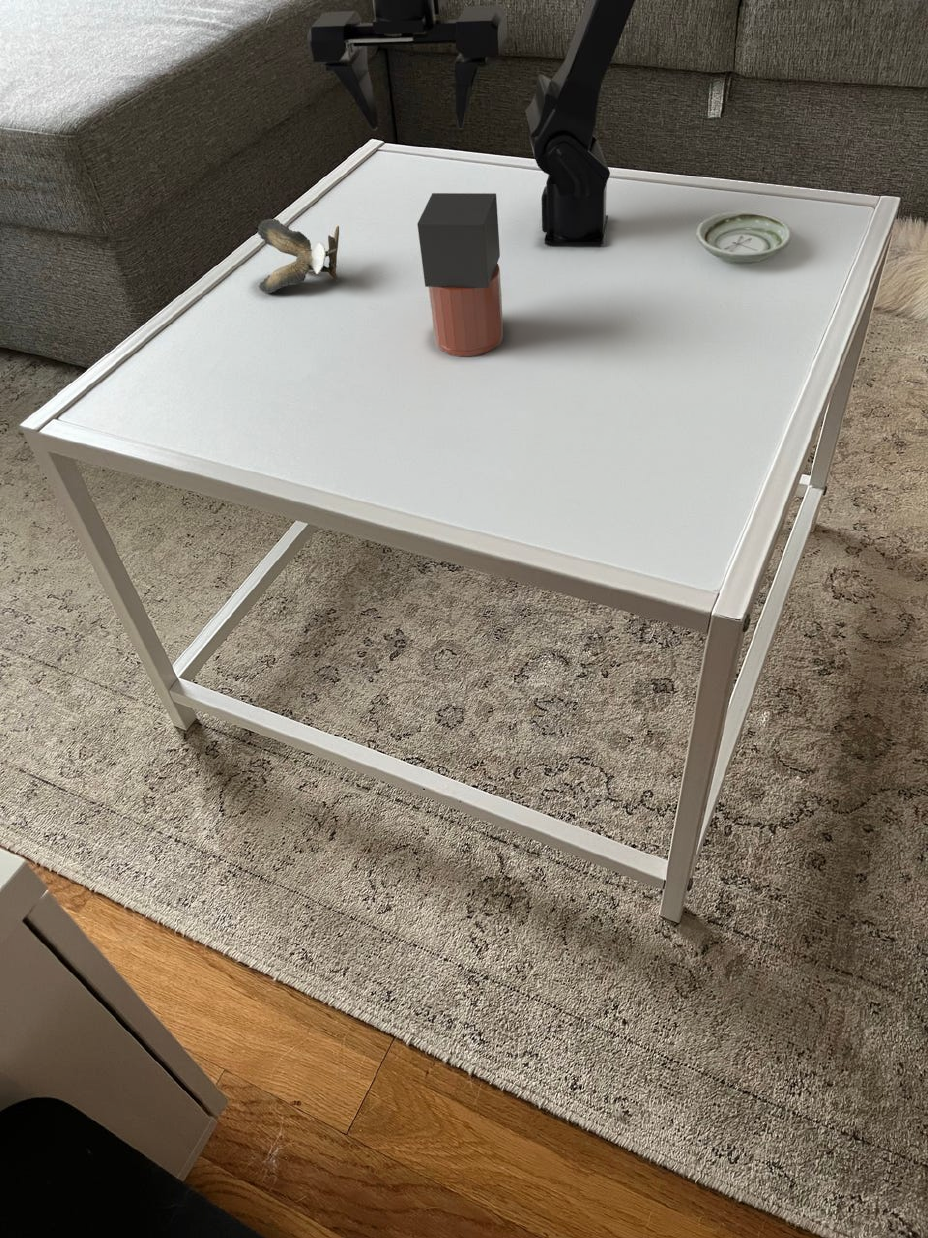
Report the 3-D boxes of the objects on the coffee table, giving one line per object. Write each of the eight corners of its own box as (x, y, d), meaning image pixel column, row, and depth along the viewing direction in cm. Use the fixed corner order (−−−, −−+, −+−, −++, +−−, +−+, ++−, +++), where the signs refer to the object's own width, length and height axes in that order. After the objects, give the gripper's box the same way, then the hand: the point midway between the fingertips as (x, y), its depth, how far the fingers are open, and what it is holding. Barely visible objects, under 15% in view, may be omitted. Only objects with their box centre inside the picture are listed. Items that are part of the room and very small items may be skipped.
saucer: (768, 283, 95) (772, 260, 93) (679, 264, 99) (681, 242, 97) (801, 241, 100) (805, 218, 98) (715, 225, 104) (718, 203, 102)
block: (500, 255, 89) (496, 193, 84) (488, 288, 85) (483, 224, 81) (439, 254, 90) (432, 192, 86) (425, 286, 86) (417, 223, 82)
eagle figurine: (341, 246, 106) (260, 239, 105) (338, 209, 98) (252, 201, 98) (337, 309, 104) (255, 302, 104) (334, 276, 97) (247, 269, 97)
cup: (508, 320, 94) (505, 254, 89) (496, 357, 90) (492, 290, 85) (443, 317, 96) (436, 252, 90) (428, 355, 91) (420, 288, 86)
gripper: (512, -83, 88) (519, 96, 99) (325, -72, 91) (353, 99, 103) (491, -50, 81) (501, 139, 92) (289, -39, 84) (323, 141, 96)
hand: (418, 127), depth 96 cm, fingers open, 9 cm apart
